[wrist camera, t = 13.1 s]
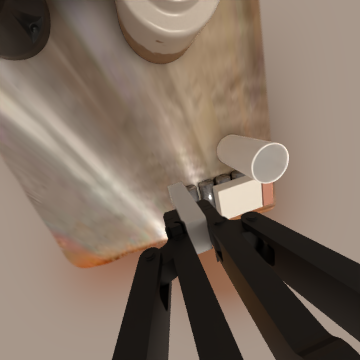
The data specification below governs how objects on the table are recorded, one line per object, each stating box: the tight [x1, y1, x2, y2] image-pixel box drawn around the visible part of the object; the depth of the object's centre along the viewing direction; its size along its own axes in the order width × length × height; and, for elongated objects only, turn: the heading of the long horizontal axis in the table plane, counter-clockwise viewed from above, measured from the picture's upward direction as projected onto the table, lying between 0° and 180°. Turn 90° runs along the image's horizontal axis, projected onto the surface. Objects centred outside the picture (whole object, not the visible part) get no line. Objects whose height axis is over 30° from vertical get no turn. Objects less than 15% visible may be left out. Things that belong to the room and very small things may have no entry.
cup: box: [217, 135, 289, 184], centre depth 41 cm, size 8×8×16 cm
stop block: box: [261, 182, 273, 206], centre depth 50 cm, size 3×10×7 cm, turn 14°
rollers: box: [186, 170, 246, 210], centre depth 50 cm, size 19×10×4 cm, turn 104°
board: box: [213, 175, 263, 219], centre depth 47 cm, size 12×9×4 cm
